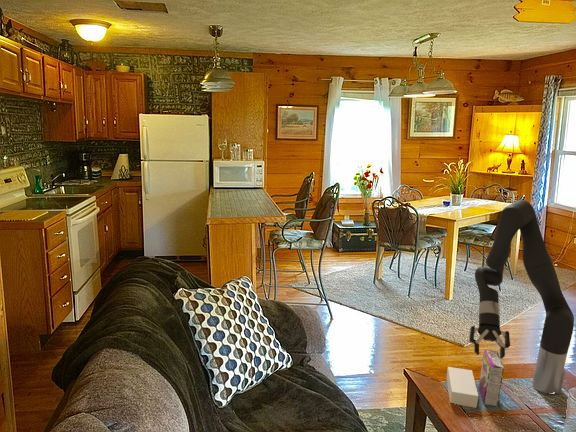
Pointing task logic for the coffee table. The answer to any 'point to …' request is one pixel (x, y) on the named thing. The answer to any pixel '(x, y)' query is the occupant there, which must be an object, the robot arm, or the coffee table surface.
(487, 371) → the candy bar box
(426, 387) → the coffee table surface
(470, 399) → the plain white box
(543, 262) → the robot arm
